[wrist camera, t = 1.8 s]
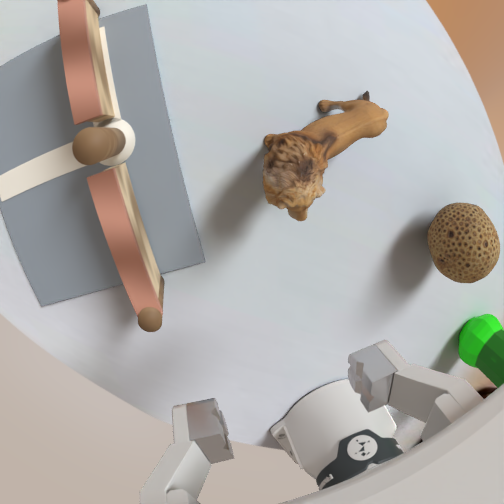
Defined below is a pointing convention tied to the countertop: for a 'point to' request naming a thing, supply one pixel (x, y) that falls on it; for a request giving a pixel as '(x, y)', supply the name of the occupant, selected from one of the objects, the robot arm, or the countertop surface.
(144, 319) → the fence panel
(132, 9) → the board
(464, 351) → the plastic bottle
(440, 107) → the countertop surface
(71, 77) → the fence section
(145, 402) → the countertop surface
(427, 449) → the robot arm
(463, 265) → the natural sponge
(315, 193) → the lion figurine
